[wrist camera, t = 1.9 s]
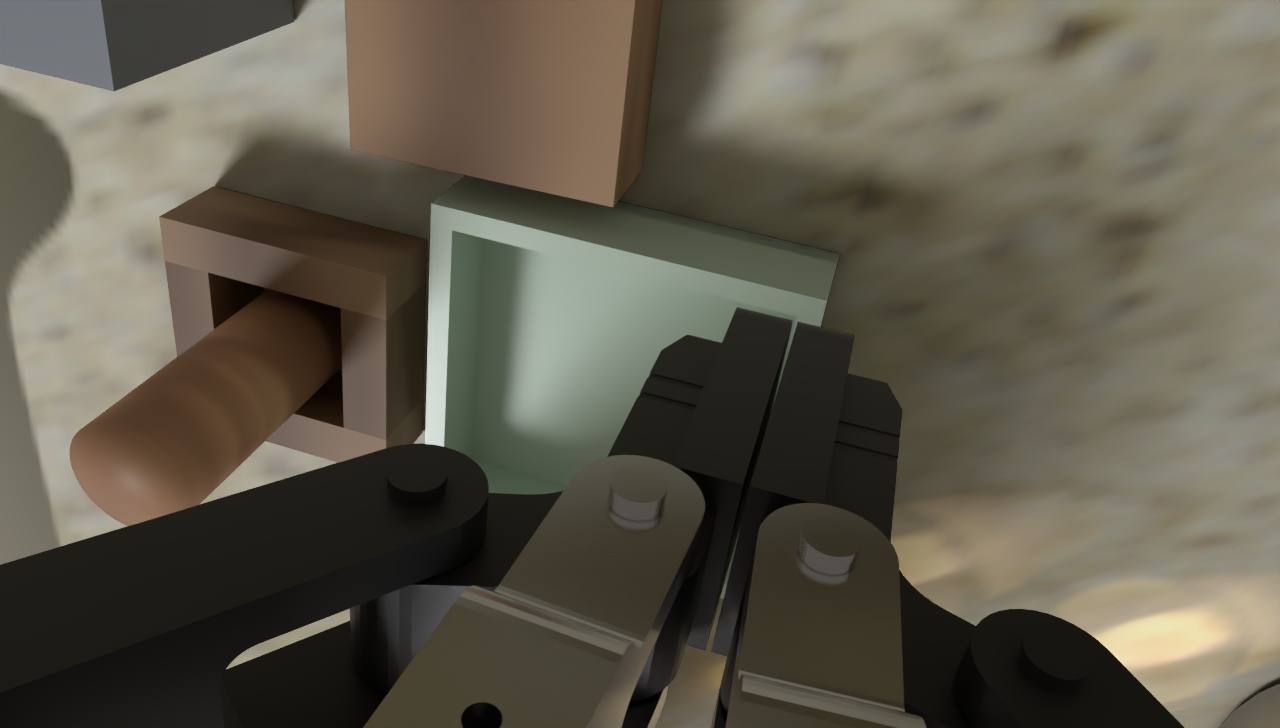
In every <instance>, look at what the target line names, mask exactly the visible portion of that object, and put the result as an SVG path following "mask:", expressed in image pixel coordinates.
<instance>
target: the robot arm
mask: <svg viewBox="0 0 1280 728" xmlns="http://www.w3.org/2000/svg"><path fill="white" fill-rule="evenodd" d="M792 322H793V320H789V319H785V318H781V317H776V316H772V315H768V314H764V313H760V312H755V311H751V310H747V309H743V308H739V307H737V308H736V310H735V312H734V315H733V317H732V320H731V322H730V325H729V327H728V329H727V332H726V334H725V337H724V339H723V342H722V343H720V342H716V341H712V340H708V339H704V338H700V337H696V336H692V335H688V334H687V335H685V336H684V337H682V338H681V339H679V340H677V341H676V342H674V343H672V344H671V345H669V346H667V347H666V348H664V349H662V350H661V352H660V354H659V356H658V358H657V360H656V362H655V364H654V366H653V368H652V370H651V372H650V375H649V377H647V379H646V381H645V383H644V385H643V387H642V389H641V391H640V395H639V396H638V397H637V399H636V401H635V403H634V405H633V407H632V409H631V411H630V413H629V415H628V417H627V419H626V421H625V423H624V425H623V427H622V429H621V431H620V433H619V435H618V437H617V438H616V440H615V442H614V444H613V446H612V448H611V450H610V452H609V454H608V456H607V457H604V458H601V459H598V460H595V461H593V462H591V463H589V464H587V465H585V466H584V467H583V468H581V469H580V470H579V471H578V472H577V473H576V474H575V475H574V476H573V478H572V479H571V481H570V482H569V484H568V485H567V487H566V488H565V489H564V491H559V492H555V493H548V494H504V493H489V486H488V480H487V477H486V475H485V473H484V471H483V470H482V468H481V467H480V466H479V465H478V464H477V463H476V462H475V461H474V460H472V459H471V458H469V457H468V456H466V455H465V454H463V453H460V452H458V451H456V450H453V449H450V448H447V447H443V446H438V445H431V444H405V445H398V446H394V447H389V448H385V449H382V450H379V451H376V452H372V453H369V454H366V455H362V456H359V457H356V458H352V459H349V460H346V461H342V462H339V463H336V464H333V465H329V466H326V467H323V468H319V469H316V470H313V471H309V472H306V473H303V474H299V475H296V476H293V477H290V478H286V479H283V480H280V481H276V482H273V483H270V484H266V485H263V486H260V487H256V488H253V489H250V490H247V491H243V492H240V493H237V494H233V495H230V496H227V497H223V498H220V499H217V500H213V501H210V502H207V503H204V504H200V505H197V506H194V507H190V508H187V509H184V510H180V511H177V512H174V513H170V514H167V515H164V516H161V517H157V518H154V519H151V520H147V521H144V522H141V523H137V524H134V525H131V526H127V527H124V528H121V529H118V530H114V531H111V532H108V533H104V534H101V535H98V536H94V537H91V538H88V539H84V540H81V541H78V542H75V543H71V544H68V545H65V546H61V547H58V548H55V549H52V550H48V551H45V552H42V553H38V554H35V555H32V556H28V557H25V558H22V559H19V560H15V561H12V562H9V563H5V564H2V565H0V728H655V725H656V723H657V721H658V718H659V716H660V713H661V711H662V709H663V706H664V704H665V700H666V697H667V692H668V687H669V684H670V683H671V681H672V680H673V679H674V677H675V676H676V673H677V671H678V669H679V665H680V662H681V659H682V656H683V653H684V649H685V646H686V645H689V646H693V647H696V648H699V649H703V650H705V649H706V646H707V642H708V639H709V635H710V632H711V629H712V625H713V622H714V618H715V615H716V611H717V608H718V604H719V601H720V597H721V594H722V590H723V587H724V583H725V580H726V576H727V573H728V569H729V566H730V562H731V559H732V555H733V552H734V548H735V545H736V548H735V552H734V556H733V561H732V565H731V569H730V574H729V578H728V582H727V587H726V591H725V595H724V599H723V604H722V608H721V612H720V617H719V621H718V625H717V630H716V634H715V638H714V642H713V647H712V651H711V652H714V653H718V654H721V655H724V656H728V657H727V661H726V665H725V669H724V673H723V677H722V682H721V686H720V690H719V694H718V698H717V702H716V706H715V711H714V715H713V719H712V725H711V728H1184V727H1183V726H1182V725H1181V724H1180V723H1179V722H1178V721H1177V720H1176V719H1175V718H1174V717H1173V716H1172V715H1171V714H1170V713H1169V711H1168V710H1167V709H1166V708H1165V707H1164V706H1163V705H1162V704H1161V703H1160V702H1159V701H1158V700H1157V699H1156V698H1155V697H1154V696H1153V695H1152V694H1151V693H1150V692H1149V691H1148V690H1147V689H1146V688H1145V687H1144V686H1143V685H1142V684H1141V683H1140V682H1139V681H1138V680H1137V679H1136V678H1135V677H1134V676H1133V675H1132V674H1131V673H1130V672H1129V671H1128V670H1127V669H1126V668H1125V667H1124V666H1123V665H1122V664H1121V663H1120V662H1119V661H1118V659H1117V658H1116V657H1115V656H1114V655H1113V654H1112V653H1111V652H1110V651H1109V650H1108V649H1107V648H1105V647H1104V646H1103V645H1102V644H1101V643H1100V642H1099V641H1098V640H1096V639H1095V638H1094V637H1092V636H1091V635H1090V634H1088V633H1087V632H1085V631H1084V630H1082V629H1080V628H1079V627H1077V626H1075V625H1074V624H1072V623H1069V622H1067V621H1065V620H1063V619H1061V618H1058V617H1055V616H1053V615H1050V614H1047V613H1042V612H1038V611H1034V610H1025V609H1009V610H1003V611H998V612H995V613H993V614H990V615H988V616H987V617H985V618H984V619H982V620H981V621H980V623H979V624H978V625H977V626H975V625H973V624H971V623H969V622H967V621H965V620H963V619H961V618H959V617H958V616H956V615H954V614H952V613H950V612H948V611H946V610H944V609H943V608H941V607H939V606H938V605H936V604H934V603H933V602H931V601H930V600H929V599H927V598H926V597H924V596H923V595H922V594H921V593H920V592H918V591H917V590H916V589H915V588H914V587H913V586H912V585H911V584H910V583H909V582H908V581H907V579H906V578H905V577H904V576H903V574H902V573H901V571H900V570H899V562H898V556H897V554H896V552H895V549H894V547H893V546H892V544H891V540H890V539H891V528H892V517H893V506H894V495H895V484H896V473H897V458H898V451H899V437H900V428H901V417H902V409H901V407H900V405H899V403H898V402H897V400H896V398H895V396H894V394H893V393H892V391H891V389H890V387H889V386H888V384H887V383H884V382H880V381H876V380H872V379H868V378H864V377H860V376H856V375H852V374H848V367H849V362H850V357H851V351H852V346H853V340H854V335H853V334H848V333H844V332H840V331H836V330H832V329H827V328H823V327H819V326H815V325H811V324H806V323H802V322H797V326H796V329H795V332H794V336H793V339H792V343H791V346H790V350H789V353H788V357H787V360H786V363H785V367H784V370H783V374H782V377H781V381H780V384H779V388H778V391H777V387H778V383H779V379H780V375H781V371H782V366H783V362H784V358H785V354H786V349H787V345H788V341H789V337H790V332H791V328H792ZM776 392H777V394H776ZM775 396H776V398H775ZM774 400H775V401H774ZM773 404H774V405H773ZM738 534H739V535H738ZM737 538H738V539H737ZM736 541H737V544H736ZM349 608H350V621H348V622H346V623H343V624H341V625H338V626H336V627H333V628H331V629H328V630H325V631H323V632H320V633H318V634H315V635H313V636H310V637H308V638H305V639H303V640H300V641H298V642H295V643H293V644H290V645H287V646H285V647H282V648H280V649H277V650H275V651H272V652H270V653H267V654H265V655H262V656H260V657H257V658H255V659H252V660H249V661H247V662H244V663H242V664H239V665H237V666H234V667H232V668H229V669H227V670H225V669H226V668H227V667H228V665H229V664H230V663H231V662H232V661H233V660H234V659H235V658H236V657H237V656H238V655H240V654H241V653H242V652H244V651H245V650H247V649H249V648H251V647H252V646H255V645H257V644H259V643H262V642H264V641H267V640H269V639H272V638H275V637H277V636H280V635H282V634H285V633H287V632H290V631H293V630H295V629H298V628H300V627H303V626H306V625H308V624H311V623H313V622H316V621H318V620H321V619H324V618H326V617H329V616H331V615H334V614H337V613H339V612H342V611H344V610H347V609H349ZM1219 728H1280V683H1279V684H1277V685H1275V686H1273V687H1271V688H1269V689H1266V690H1264V691H1262V692H1260V693H1258V694H1257V695H1255V696H1254V697H1252V698H1251V699H1250V700H1248V701H1247V702H1245V703H1244V704H1243V705H1241V706H1240V707H1238V708H1237V709H1236V710H1234V711H1233V712H1232V713H1231V714H1230V716H1229V717H1228V718H1227V719H1226V720H1225V721H1224V722H1223V724H1222V725H1221V726H1220V727H1219Z"/></svg>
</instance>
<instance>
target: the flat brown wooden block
mask: <svg viewBox="0 0 1280 728" xmlns="http://www.w3.org/2000/svg"><path fill="white" fill-rule="evenodd" d="M662 1H663V0H345V20H346V45H347V70H348V96H349V121H350V147H351V150H353V151H357V152H362V153H366V154H371V155H376V156H380V157H385V158H389V159H394V160H398V161H403V162H408V163H412V164H417V165H421V166H426V167H430V168H435V169H440V170H444V171H449V172H453V173H458V174H462V175H467V176H472V177H476V178H481V179H485V180H490V181H495V182H499V183H504V184H508V185H513V186H517V187H522V188H527V189H531V190H536V191H540V192H545V193H549V194H554V195H559V196H563V197H568V198H572V199H577V200H581V201H586V202H591V203H595V204H600V205H604V206H609V207H614V206H615V205H616V203H617V202H618V201H619V199H620V198H621V197H622V196H623V194H624V193H625V192H626V191H627V189H628V188H629V187H630V186H631V184H632V183H633V182H634V181H635V179H636V178H637V177H638V176H639V174H640V173H641V172H642V168H643V159H644V151H645V143H646V134H647V126H648V118H649V109H650V101H651V93H652V85H653V76H654V68H655V60H656V51H657V43H658V35H659V26H660V18H661V10H662Z"/></svg>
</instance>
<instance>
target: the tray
mask: <svg viewBox="0 0 1280 728" xmlns="http://www.w3.org/2000/svg"><path fill="white" fill-rule="evenodd" d="M839 255H840V254H838V253H834V252H829V251H825V250H821V249H817V248H813V247H808V246H804V245H800V244H796V243H792V242H788V241H783V240H779V239H775V238H771V237H767V236H762V235H758V234H754V233H750V232H746V231H741V230H737V229H733V228H729V227H725V226H720V225H716V224H712V223H708V222H704V221H699V220H695V219H691V218H687V217H683V216H678V215H674V214H670V213H666V212H662V211H657V210H653V209H649V208H645V207H641V206H636V205H632V204H628V203H624V202H620V201H618V202H617V203H616V205H615V206H614V207H609V206H604V205H600V204H595V203H591V202H586V201H581V200H577V199H572V198H568V197H563V196H559V195H554V194H549V193H545V192H540V191H536V190H531V189H527V188H522V187H517V186H513V185H508V184H504V183H499V182H495V181H490V180H485V179H481V178H476V177H472V176H467V175H465V176H464V177H463V178H462V179H460V180H459V181H458V182H457V183H455V184H454V185H453V186H452V187H451V188H449V189H448V190H447V191H446V192H444V193H443V194H442V195H441V196H440V197H438V198H437V199H436V200H435V201H433V202H432V203H431V225H430V265H429V305H428V345H427V385H426V425H425V444H431V445H438V446H443V447H447V448H450V449H453V450H456V451H458V452H460V453H463V454H465V455H466V456H468V457H469V458H471V459H472V460H474V461H475V462H476V463H477V464H478V465H479V466H480V467H481V468H482V470H483V471H484V473H485V475H486V477H487V480H488V486H489V493H504V494H548V493H555V492H559V491H564V489H565V488H566V487H567V485H568V484H569V482H570V481H571V479H572V478H573V476H574V475H575V474H576V473H577V472H578V471H579V470H580V469H581V468H583V467H584V466H585V465H587V464H589V463H591V462H593V461H595V460H598V459H601V458H604V457H607V456H608V454H609V452H610V450H611V448H612V446H613V444H614V442H615V440H616V438H617V437H618V435H619V433H620V431H621V429H622V427H623V425H624V423H625V421H626V419H627V417H628V415H629V413H630V411H631V409H632V407H633V405H634V403H635V401H636V399H637V397H638V396H639V395H640V391H641V389H642V387H643V385H644V383H645V381H646V379H647V377H649V375H650V372H651V370H652V368H653V366H654V364H655V362H656V360H657V358H658V356H659V354H660V352H661V350H662V349H664V348H666V347H667V346H669V345H671V344H672V343H674V342H676V341H677V340H679V339H681V338H682V337H684V336H685V335H687V334H688V335H692V336H696V337H700V338H704V339H708V340H712V341H716V342H720V343H722V342H723V339H724V337H725V334H726V332H727V329H728V327H729V325H730V322H731V320H732V317H733V315H734V312H735V310H736V308H737V307H739V308H743V309H747V310H751V311H755V312H760V313H764V314H768V315H772V316H776V317H781V318H785V319H789V320H793V322H792V328H791V332H790V337H789V341H788V345H787V349H786V354H785V358H784V362H783V366H782V371H781V375H780V379H779V383H778V387H777V391H778V388H779V384H780V381H781V377H782V374H783V370H784V367H785V363H786V360H787V357H788V353H789V350H790V346H791V343H792V339H793V336H794V332H795V329H796V326H797V322H802V323H806V324H811V325H815V326H819V327H821V324H822V320H823V316H824V312H825V308H826V305H827V301H828V297H829V293H830V289H831V286H832V282H833V278H834V274H835V270H836V266H837V263H838V259H839ZM776 394H777V392H776ZM775 398H776V396H775ZM774 401H775V400H774ZM773 405H774V404H773ZM738 535H739V534H738ZM737 539H738V538H737ZM736 544H737V541H736ZM735 548H736V545H735ZM735 548H734V552H735ZM734 552H733V555H732V559H731V562H730V566H729V569H728V573H727V576H726V580H725V583H724V587H723V590H722V594H721V597H720V598H721V599H724V595H725V591H726V587H727V582H728V578H729V574H730V569H731V565H732V561H733V556H734Z"/></svg>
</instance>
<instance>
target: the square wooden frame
mask: <svg viewBox="0 0 1280 728" xmlns="http://www.w3.org/2000/svg"><path fill="white" fill-rule="evenodd" d="M159 218H160V226H161V234H162V242H163V249H164V257H165V265H166V273H167V280H168V288H169V296H170V304H171V311H172V319H173V327H174V335H175V342H176V350H177V357H178V356H179V355H181V354H182V353H183V352H185V351H186V350H187V349H189V348H190V347H191V346H193V345H194V344H195V343H197V342H198V341H199V340H201V339H202V338H203V337H205V336H206V335H207V334H209V333H210V332H211V331H213V330H214V329H215V328H217V327H218V326H219V325H221V324H222V323H223V322H225V321H226V320H227V319H229V318H230V317H231V316H233V315H234V314H235V313H237V312H238V311H239V310H241V309H242V308H243V307H245V306H246V305H247V304H249V303H250V302H251V301H253V300H254V299H255V298H257V297H258V296H259V295H261V294H262V287H264V288H268V289H272V290H275V291H279V292H283V293H287V294H290V295H294V296H298V297H302V298H305V299H309V300H313V301H316V302H320V303H324V304H328V305H331V306H335V307H339V308H341V343H342V375H341V374H337V373H335V374H334V375H333V376H332V377H331V378H330V379H329V380H328V381H327V382H326V383H325V384H324V385H323V386H322V387H321V388H320V389H319V390H318V391H317V392H316V393H314V394H313V395H312V396H311V397H310V398H309V399H308V400H307V401H306V402H305V403H304V404H303V405H302V406H301V407H300V408H299V409H298V410H297V411H296V412H295V413H294V414H293V415H292V416H291V417H290V418H288V419H287V420H286V421H285V422H284V423H283V424H282V425H281V426H280V427H279V428H278V429H277V430H276V431H275V432H274V433H273V434H272V435H271V436H270V437H269V438H268V439H267V440H266V441H267V442H271V443H274V444H277V445H281V446H284V447H288V448H291V449H294V450H298V451H301V452H305V453H308V454H311V455H315V456H318V457H322V458H325V459H328V460H332V461H335V462H342V461H346V460H349V459H352V458H356V457H359V456H362V455H366V454H369V453H372V452H376V451H379V450H382V449H385V448H389V447H394V446H398V445H405V444H413V443H414V442H415V441H416V440H417V438H418V437H419V436H420V435H421V433H422V424H423V380H424V337H425V294H426V250H427V240H424V239H420V238H416V237H412V236H408V235H404V234H400V233H396V232H392V231H388V230H384V229H381V228H377V227H373V226H369V225H365V224H361V223H357V222H353V221H349V220H345V219H341V218H337V217H333V216H329V215H325V214H321V213H317V212H313V211H309V210H305V209H301V208H297V207H293V206H289V205H286V204H282V203H278V202H274V201H270V200H266V199H262V198H258V197H254V196H250V195H246V194H242V193H238V192H234V191H230V190H226V189H222V188H218V187H214V186H213V187H211V188H210V189H208V190H206V191H204V192H203V193H201V194H199V195H197V196H195V197H194V198H192V199H190V200H188V201H187V202H185V203H183V204H181V205H179V206H178V207H176V208H174V209H172V210H170V211H169V212H167V213H165V214H163V215H162V216H160V217H159Z"/></svg>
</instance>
